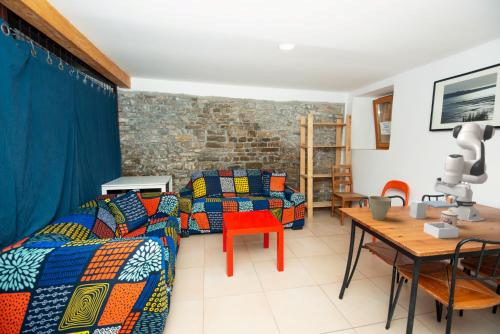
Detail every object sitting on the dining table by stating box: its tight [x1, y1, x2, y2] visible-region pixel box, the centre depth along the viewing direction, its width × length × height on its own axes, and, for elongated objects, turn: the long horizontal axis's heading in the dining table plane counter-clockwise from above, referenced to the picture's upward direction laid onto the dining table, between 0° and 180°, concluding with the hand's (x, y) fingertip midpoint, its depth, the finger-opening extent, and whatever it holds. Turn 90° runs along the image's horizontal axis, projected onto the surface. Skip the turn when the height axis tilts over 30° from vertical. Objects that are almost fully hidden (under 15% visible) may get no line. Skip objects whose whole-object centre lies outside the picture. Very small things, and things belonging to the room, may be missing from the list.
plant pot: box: [368, 195, 392, 221], centre depth 171 cm, size 15×15×16 cm
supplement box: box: [409, 200, 427, 220], centre depth 176 cm, size 7×7×13 cm
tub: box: [423, 221, 460, 239], centre depth 144 cm, size 14×10×6 cm
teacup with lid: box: [440, 208, 463, 227], centre depth 158 cm, size 12×9×12 cm
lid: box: [421, 197, 458, 209], centre depth 145 cm, size 17×11×5 cm, turn 98°
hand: (450, 201), depth 146 cm, fingers closed on lid, 2 cm apart
